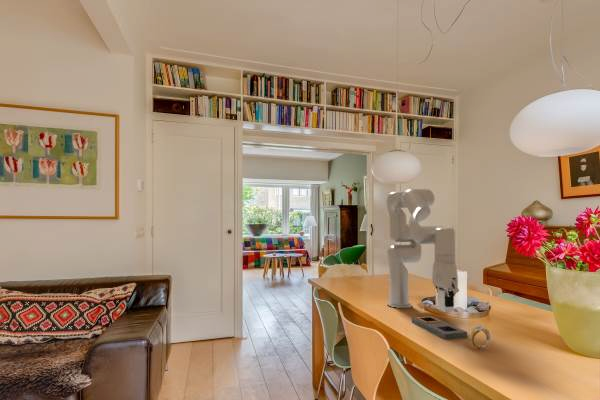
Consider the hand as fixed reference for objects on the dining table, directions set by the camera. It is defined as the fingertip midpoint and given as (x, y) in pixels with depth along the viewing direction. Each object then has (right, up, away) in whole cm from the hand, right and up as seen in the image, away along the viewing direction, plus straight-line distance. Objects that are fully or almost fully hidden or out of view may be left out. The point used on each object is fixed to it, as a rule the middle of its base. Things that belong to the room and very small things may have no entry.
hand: (445, 304), depth 133 cm
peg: (0, -2, 0) cm, 2 cm away
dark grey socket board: (-1, -12, +5) cm, 13 cm away
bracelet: (+5, -11, -16) cm, 20 cm away
